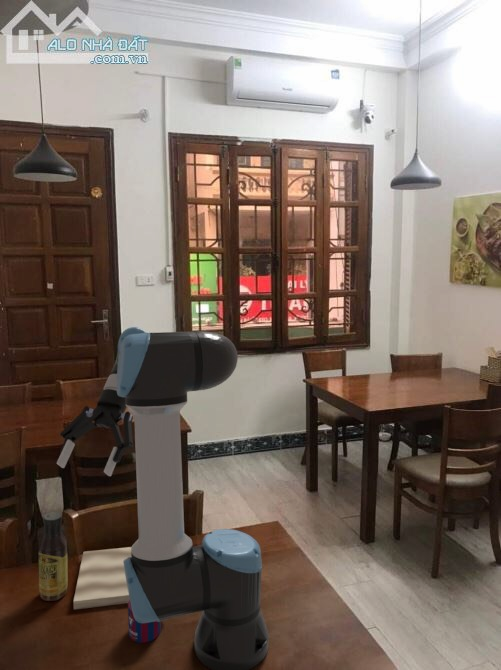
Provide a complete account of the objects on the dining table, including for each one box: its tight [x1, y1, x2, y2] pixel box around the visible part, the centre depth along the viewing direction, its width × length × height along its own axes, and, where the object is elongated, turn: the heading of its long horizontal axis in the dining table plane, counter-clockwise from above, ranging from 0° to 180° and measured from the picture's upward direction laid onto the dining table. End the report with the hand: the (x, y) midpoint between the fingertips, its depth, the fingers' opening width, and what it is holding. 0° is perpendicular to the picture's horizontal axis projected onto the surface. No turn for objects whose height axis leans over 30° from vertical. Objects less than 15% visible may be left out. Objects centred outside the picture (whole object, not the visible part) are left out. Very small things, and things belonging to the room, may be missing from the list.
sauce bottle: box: [38, 511, 69, 602], centre depth 119 cm, size 6×6×20 cm
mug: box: [127, 600, 162, 644], centre depth 109 cm, size 7×10×7 cm
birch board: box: [73, 546, 132, 611], centre depth 126 cm, size 20×14×2 cm
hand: (83, 470), depth 126 cm, fingers open, 13 cm apart
